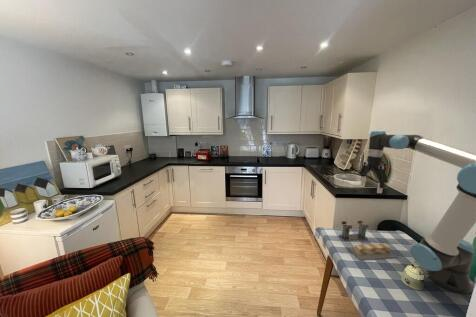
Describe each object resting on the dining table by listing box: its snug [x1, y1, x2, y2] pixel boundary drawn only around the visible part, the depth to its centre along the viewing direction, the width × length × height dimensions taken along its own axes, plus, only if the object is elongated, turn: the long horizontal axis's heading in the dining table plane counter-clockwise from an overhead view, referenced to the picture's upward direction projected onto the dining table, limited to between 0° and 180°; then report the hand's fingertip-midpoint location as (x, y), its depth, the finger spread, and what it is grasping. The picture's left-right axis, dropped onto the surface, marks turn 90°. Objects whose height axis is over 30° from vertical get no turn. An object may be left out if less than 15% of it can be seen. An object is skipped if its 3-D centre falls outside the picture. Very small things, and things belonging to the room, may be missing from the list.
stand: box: [338, 220, 370, 242], centre depth 133 cm, size 17×6×11 cm, turn 96°
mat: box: [346, 246, 399, 261], centre depth 118 cm, size 24×11×1 cm, turn 96°
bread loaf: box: [354, 242, 391, 255], centre depth 118 cm, size 20×4×4 cm, turn 96°
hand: (370, 189), depth 122 cm, fingers open, 13 cm apart
